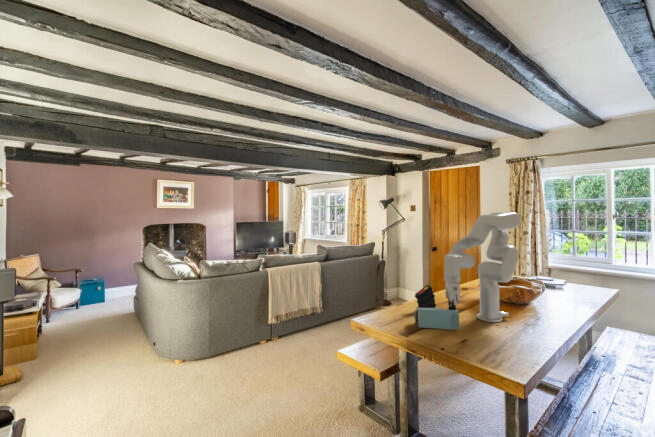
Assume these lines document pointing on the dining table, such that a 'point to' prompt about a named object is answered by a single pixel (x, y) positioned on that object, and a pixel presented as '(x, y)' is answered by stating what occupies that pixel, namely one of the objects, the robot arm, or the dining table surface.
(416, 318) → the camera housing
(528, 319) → the dining table surface
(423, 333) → the dining table surface
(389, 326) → the dining table surface
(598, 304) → the dining table surface
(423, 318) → the side door
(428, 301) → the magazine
